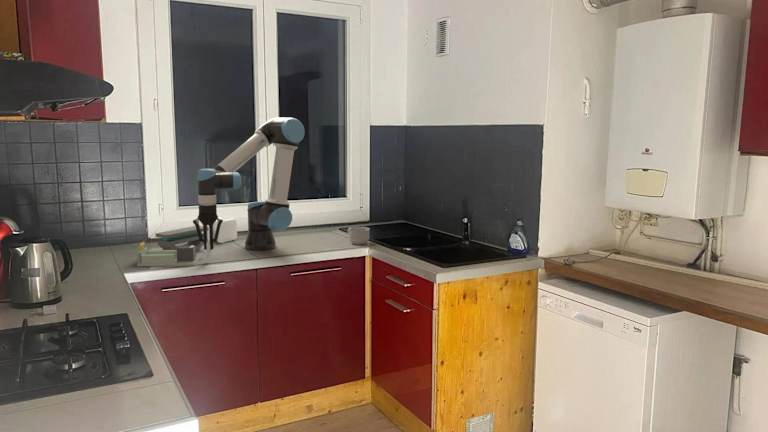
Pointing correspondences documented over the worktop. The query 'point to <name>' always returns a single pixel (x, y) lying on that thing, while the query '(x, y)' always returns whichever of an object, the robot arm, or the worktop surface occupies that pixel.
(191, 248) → the plug
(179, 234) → the sharpening stone
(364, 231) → the teacup
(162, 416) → the worktop surface
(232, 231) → the cable organizer
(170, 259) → the header
